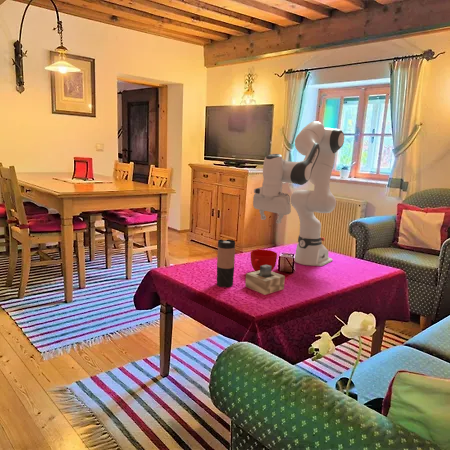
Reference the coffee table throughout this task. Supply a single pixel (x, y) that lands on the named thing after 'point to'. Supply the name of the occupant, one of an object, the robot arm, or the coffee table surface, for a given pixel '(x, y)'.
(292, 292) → the coffee table surface
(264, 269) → the grey rectangular block
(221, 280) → the travel mug
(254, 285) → the well block
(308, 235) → the robot arm
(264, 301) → the coffee table surface
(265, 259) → the ceramic cup
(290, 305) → the coffee table surface
